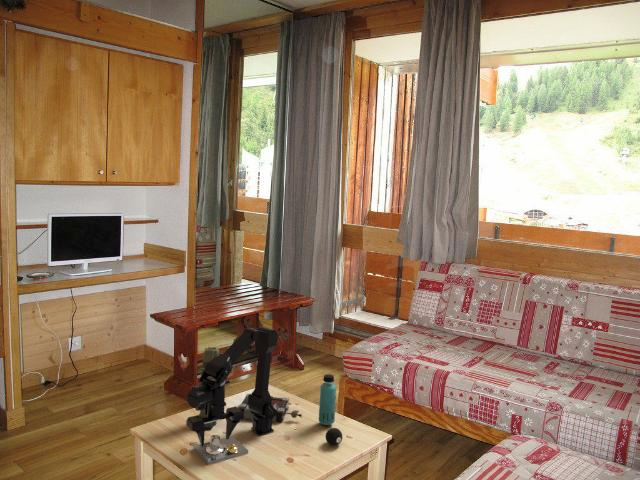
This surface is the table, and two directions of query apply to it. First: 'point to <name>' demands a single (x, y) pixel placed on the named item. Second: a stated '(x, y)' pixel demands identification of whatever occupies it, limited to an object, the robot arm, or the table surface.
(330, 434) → the billiard ball
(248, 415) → the machine vise
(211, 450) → the silver metal knob
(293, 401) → the table surface
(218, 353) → the mechanical leg
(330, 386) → the beverage bottle
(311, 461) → the table surface
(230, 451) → the plate
